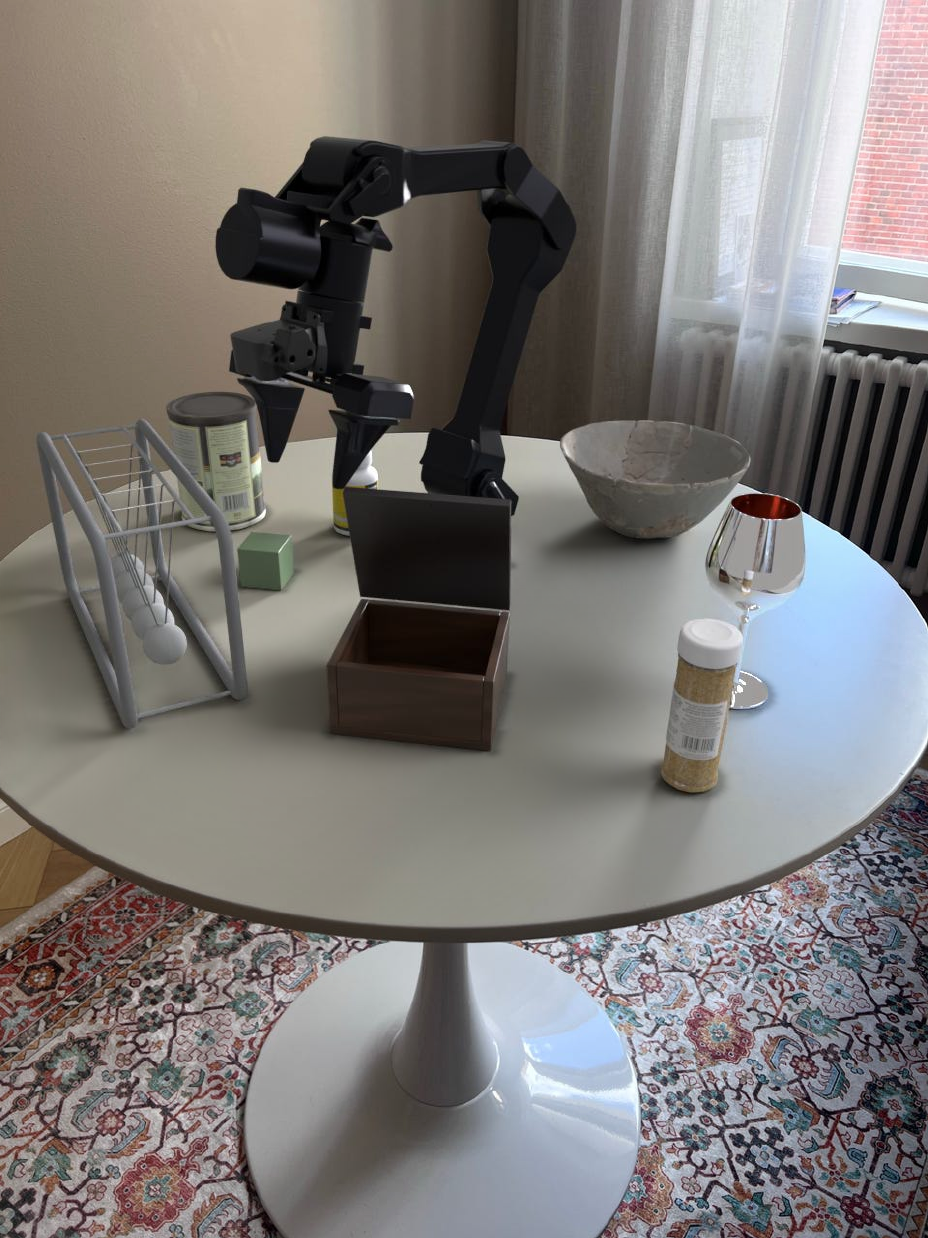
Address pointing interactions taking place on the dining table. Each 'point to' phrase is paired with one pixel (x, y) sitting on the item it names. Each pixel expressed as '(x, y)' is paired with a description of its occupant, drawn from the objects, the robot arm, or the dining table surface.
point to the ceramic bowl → (653, 473)
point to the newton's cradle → (141, 571)
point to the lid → (431, 547)
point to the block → (265, 560)
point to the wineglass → (756, 569)
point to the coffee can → (219, 455)
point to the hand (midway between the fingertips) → (304, 474)
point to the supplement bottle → (360, 479)
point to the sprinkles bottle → (700, 703)
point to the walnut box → (419, 674)
